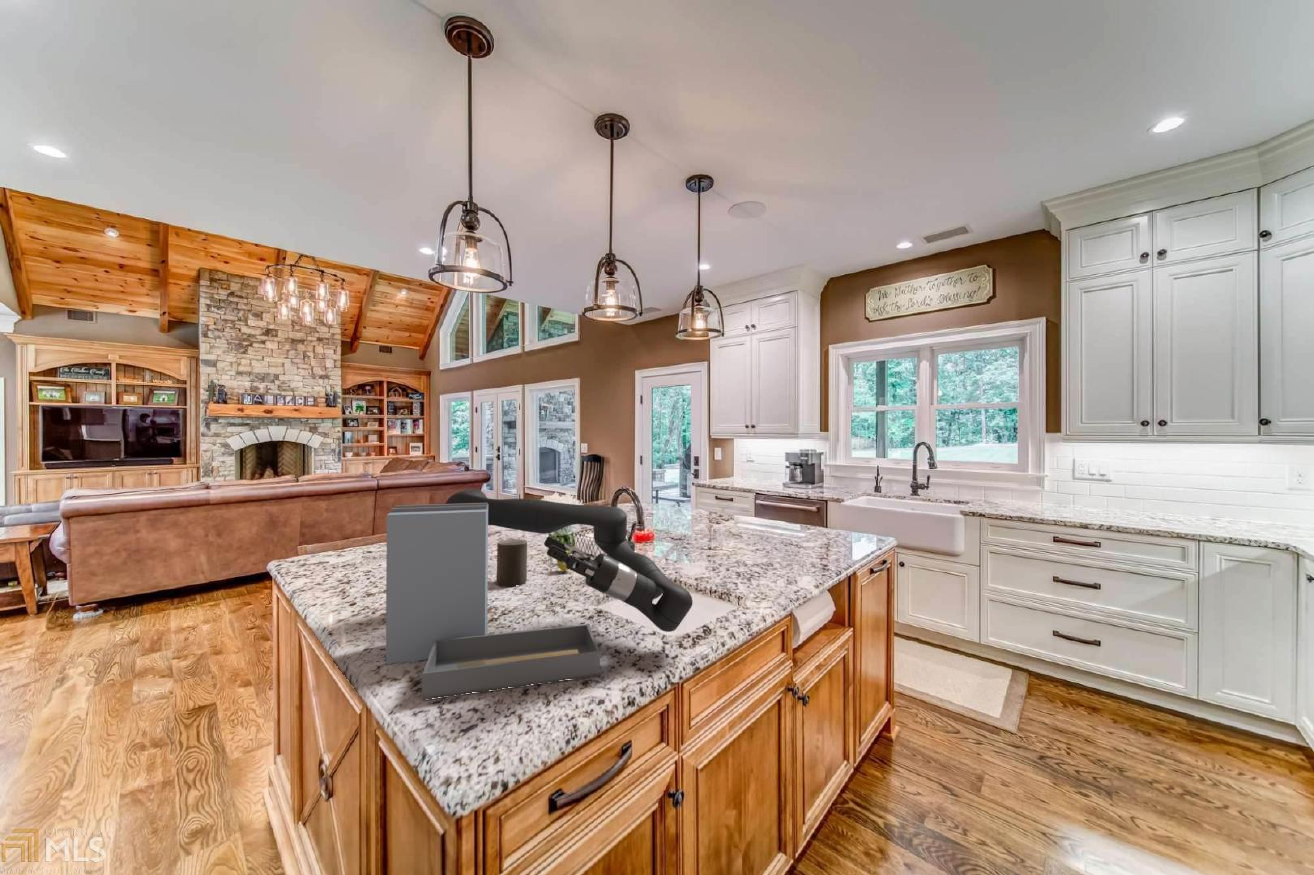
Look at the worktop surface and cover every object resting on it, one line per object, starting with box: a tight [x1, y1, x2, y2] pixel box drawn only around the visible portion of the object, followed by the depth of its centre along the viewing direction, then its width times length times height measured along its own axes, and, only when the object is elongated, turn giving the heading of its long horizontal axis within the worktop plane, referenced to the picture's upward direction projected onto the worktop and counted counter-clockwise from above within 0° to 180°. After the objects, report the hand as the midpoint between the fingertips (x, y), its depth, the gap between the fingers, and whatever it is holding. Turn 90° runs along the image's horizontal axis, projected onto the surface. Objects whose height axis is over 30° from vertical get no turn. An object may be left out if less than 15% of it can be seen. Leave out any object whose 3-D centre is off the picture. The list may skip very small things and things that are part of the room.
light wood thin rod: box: [457, 649, 579, 668], centre depth 100 cm, size 24×2×2 cm
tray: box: [421, 623, 601, 701], centre depth 101 cm, size 33×15×5 cm, turn 107°
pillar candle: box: [495, 538, 528, 588], centre depth 161 cm, size 10×10×15 cm
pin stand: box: [385, 503, 489, 665], centre depth 112 cm, size 20×12×33 cm, turn 107°
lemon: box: [556, 549, 569, 572], centre depth 174 cm, size 6×6×8 cm
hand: (547, 544), depth 103 cm, fingers open, 8 cm apart
